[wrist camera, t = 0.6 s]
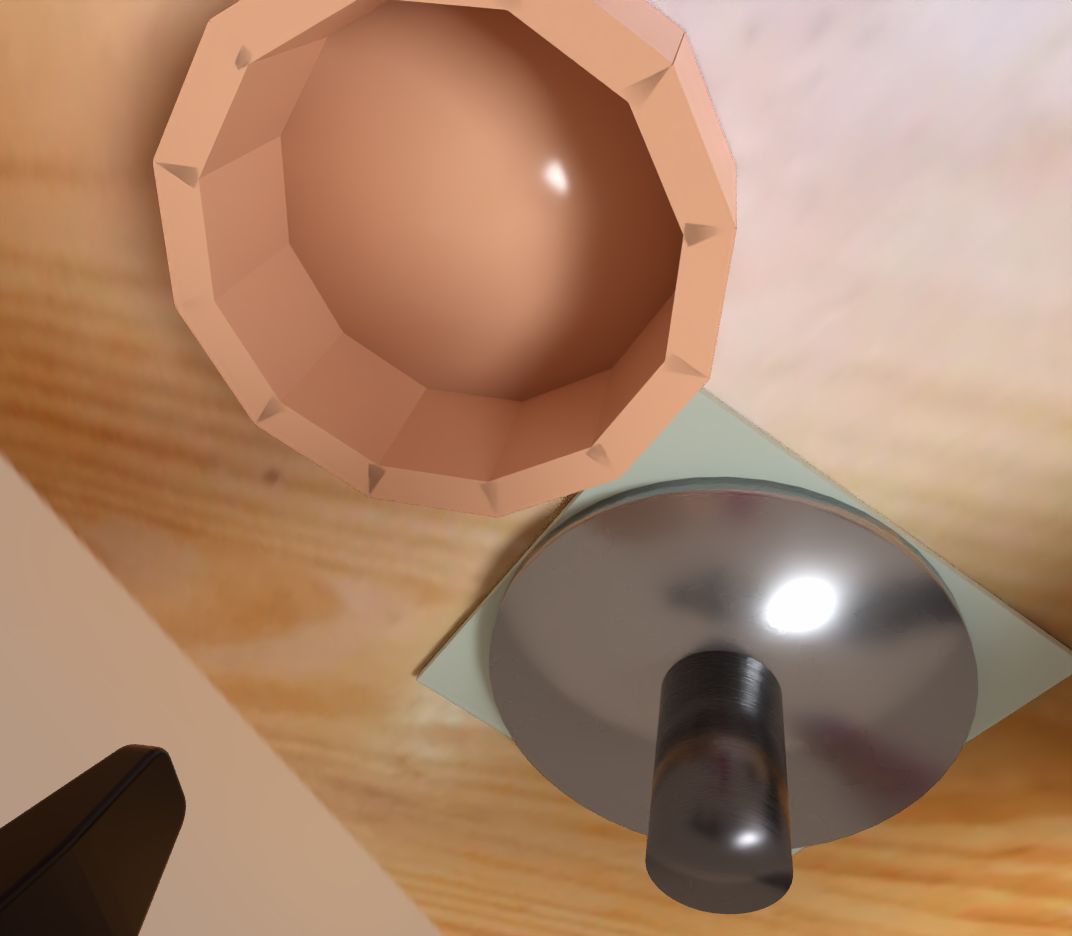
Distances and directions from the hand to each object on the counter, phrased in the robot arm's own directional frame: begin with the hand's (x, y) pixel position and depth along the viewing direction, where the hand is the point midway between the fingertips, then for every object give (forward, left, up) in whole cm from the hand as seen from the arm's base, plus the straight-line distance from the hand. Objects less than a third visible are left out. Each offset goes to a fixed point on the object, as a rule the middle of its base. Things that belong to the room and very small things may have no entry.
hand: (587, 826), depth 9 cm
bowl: (+5, 0, -13) cm, 14 cm away
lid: (-7, +7, -13) cm, 16 cm away
